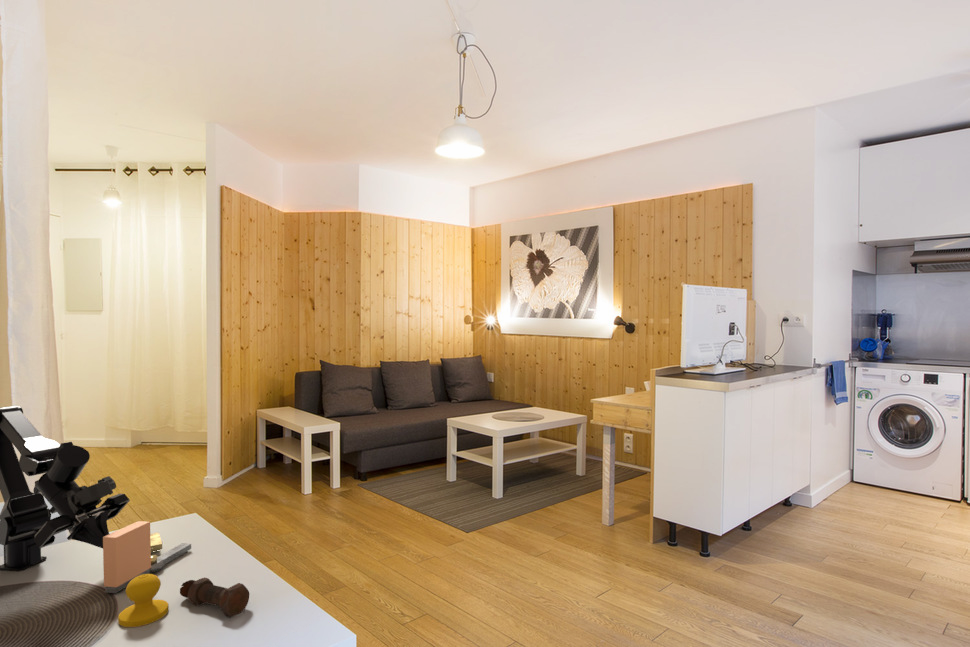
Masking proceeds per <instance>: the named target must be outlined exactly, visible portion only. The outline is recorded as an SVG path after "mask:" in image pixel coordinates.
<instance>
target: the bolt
mask: <svg viewBox="0 0 970 647" xmlns="http://www.w3.org/2000/svg"><path fill="white" fill-rule="evenodd" d="M179 595H180V596H182V597H184V598H187V599H188V600H189V603H191V604H192V605H193V604H194V606H197V607H198V606H200V605H201V604H202V605H204V604H208V605H213V606H217V607H219V609H220V610H221V612H222V613H223V614H224V615H225V617H228V618H232V617H236V616H237V615H239V614H241V613H242V612H244V610H246V607H247V606H248V603H249V600H250V591H249V589H248V588H247V587H246V586H245V585H244V584H243V583H240V582H238V583H236V584H234V585H232V586H230V587H227V588H226V587H223V586H219V585H215V584H214V583H213V582H212V580H210V579H209V577H202V578H200V579H199V578H198V579H197V580H194V579H189V580H187V581H185V582H182V584H181V587H180V588H179ZM203 603H204V604H203ZM202 605H201V606H202Z"/></svg>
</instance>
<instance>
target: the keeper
mask: <svg viewBox="0 0 970 647" xmlns="http://www.w3.org/2000/svg"><path fill="white" fill-rule="evenodd" d="M150 542H151V552H153V551H157V550H160V551H161V550H163V542H162V538H161V535H160V533H159V532H154V533H150ZM153 553H154V552H153Z"/></svg>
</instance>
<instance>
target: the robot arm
mask: <svg viewBox="0 0 970 647" xmlns="http://www.w3.org/2000/svg"><path fill="white" fill-rule="evenodd" d="M15 448H16V450H17V451H18V452H19V454H20V457H19V458H18V455H17V453H16V450H15ZM90 458H91V456H90V452H89V451H88V450H87V449H86V448H84V447H83V446H80V445H74V443H73V442H72V441H66V442H62V443H59V442H57V441H56V440H54V439H50V438H46V437H44V436H43V435H42V434H41V433H40V431H38V430H37V428H36V427H35V426H34V424H32V422H31V421H30V420H29V419H28V418H27V417H26V415H25V414H24V410H23V407H21V406H20V405H19V406H18V405H10V406H3V407H0V493H1V497H2V499H3V502H4V503H3V506H2V509H1V511H0V545H1V546H3V563H2V564H0V570H2V571H4V570H6V571H19V572H20V571H23V570H25V569H28V568H30V567H31V566H33V565H36V564H38V563H40V562H43V561H45V560H47V558H48V557H47V556H43V555H42V548H45V547H48V546H49V545H52V544H53V543H54V542H55V539H56V537H55V536H56V535H57V534H60V533H62V532H65V531H68V533H69V535H68V536H67V537H66V539H67V540H68V541H71V540H73V541H77V542H81V543H85V544H88V545H92V546H95V547H97V548H99V549H100V548H101V549H103V537H104V536H106V535H109V534H110V532H109V527H108V522H107V521H109V520H111V519H113V518H115V517H117V516H118V514H120V513H121V511H122V510H123V509H124V508H125V507H126V506H127V504H128V503H129V502H130V501H131V499H130V498H129V497H128V496H127V495H126V494H125V493H118V494H115V495H113V494H114V492H113V491H114V490H115V489H116V488H117V484H116V482H115V480H114V479H113V478H112V477H111V476H106V477H102V478H101V479H99V480H97V483H94V484H92V485H89V486H88V485H82V486H79V484H78V483H77V482H76V479H78V478H79V476H80V475H81V473H82V472H83V471H84V469H85V467H86V466H87V464H88V462H89V460H90ZM25 475H26V476H28V477H33V476H37V475H41V476H40V477H39V479H38V480H34V487H33V490H30V487H29V484H28V482H27V480H26V477H25ZM110 495H111V496H110ZM107 496H109V497H107ZM104 497H107V498H106V499H105V500H104V502H102V501H103V500H102V498H104ZM45 499H46V501H47V503H49V505H51V508H49V506H48V505H47V503H46V501H45ZM101 502H102V503H101ZM100 503H101V505H100V506H99V504H100ZM97 506H98V507H97ZM55 513H58V516H57V517H53V518H51V517H52V514H55Z"/></svg>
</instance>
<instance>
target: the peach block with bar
mask: <svg viewBox="0 0 970 647" xmlns="http://www.w3.org/2000/svg"><path fill="white" fill-rule="evenodd" d="M150 534H151V522H150V521H145V520H144V521H140V520H138V521H135V522H134V523H131V524H129V525H126V526H124V527H122V528H120V529H118V530H115V531H113V532H111V533H109V535H106V536H104V537H103V548H102V552H103V557H102V558H103V564H102V565H103V586H104V588H105V591H104V592H105V593H109V594H110V593H111V594H116V593H117V594H118V592H120V591H122V590H124V589H126V587H127V585H128V584H129V582H130V581H131V580H132V579H134V578H135V577H137V576H140V575H143V574H152V573H155V572H159V571H160V570H162V569H163V568H164V566H165V565H166V564H168V563H169V562H171V561H173V560H174V559H176V558H179V557H180V556H181V555H183V554H185V553H187V552H188V551H190V550H192V543H188V542H187V543H180V544H178V545H177V546H175V547H173V548H171V549H170V550H167V551H166V552H165V553H162V554H161V555H159V556H157V562H156V563H154V564H151V555H152V553H151V542H150Z"/></svg>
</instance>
